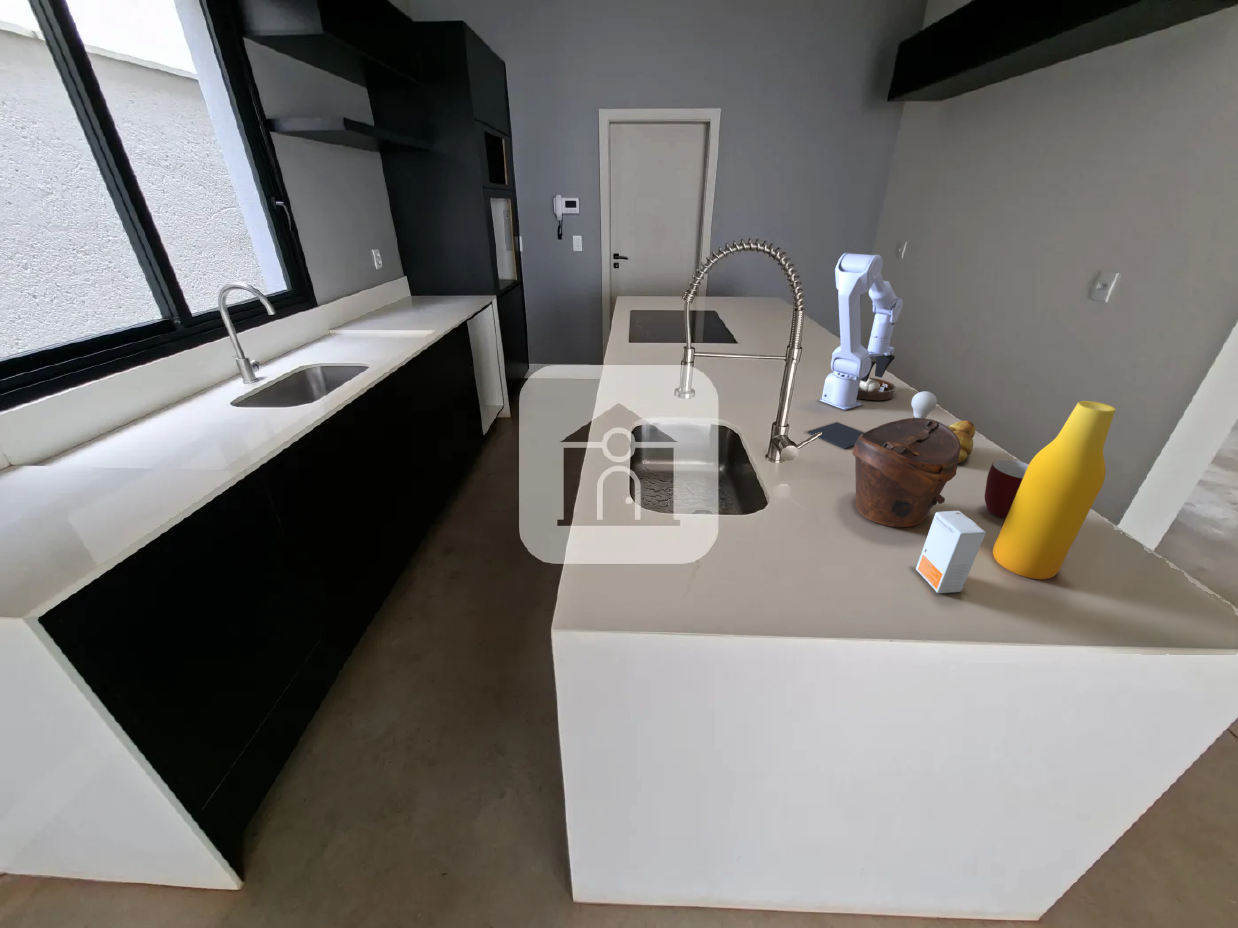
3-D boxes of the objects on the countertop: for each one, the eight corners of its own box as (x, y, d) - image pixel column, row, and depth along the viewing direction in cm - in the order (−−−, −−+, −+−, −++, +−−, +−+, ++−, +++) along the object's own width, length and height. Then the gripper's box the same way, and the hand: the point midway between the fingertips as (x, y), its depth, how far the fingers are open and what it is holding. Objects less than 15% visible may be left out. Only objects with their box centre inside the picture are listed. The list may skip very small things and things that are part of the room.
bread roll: (970, 470, 115) (982, 439, 111) (923, 461, 119) (932, 431, 115) (967, 448, 125) (977, 419, 121) (923, 441, 129) (931, 412, 125)
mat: (807, 432, 134) (807, 431, 134) (836, 423, 140) (837, 422, 140) (845, 449, 125) (845, 447, 125) (875, 438, 131) (875, 437, 130)
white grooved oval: (854, 390, 162) (857, 377, 160) (862, 387, 164) (865, 375, 162) (872, 396, 157) (875, 383, 155) (881, 393, 159) (884, 381, 157)
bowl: (832, 390, 163) (833, 382, 162) (861, 382, 170) (863, 374, 169) (873, 405, 152) (875, 395, 150) (903, 395, 159) (906, 386, 157)
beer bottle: (1040, 550, 89) (1113, 397, 75) (1068, 584, 81) (1157, 420, 67) (982, 543, 91) (1043, 393, 77) (1004, 576, 83) (1077, 415, 69)
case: (840, 529, 95) (860, 445, 87) (840, 480, 111) (857, 406, 103) (946, 549, 89) (979, 461, 81) (930, 495, 105) (956, 417, 97)
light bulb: (923, 422, 140) (933, 388, 135) (933, 430, 135) (943, 396, 130) (901, 421, 140) (910, 388, 136) (910, 430, 135) (920, 395, 130)
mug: (1039, 513, 99) (1059, 470, 94) (1040, 533, 93) (1061, 487, 88) (976, 497, 104) (993, 455, 100) (973, 515, 99) (991, 471, 94)
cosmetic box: (914, 569, 84) (934, 511, 79) (937, 568, 85) (959, 509, 79) (937, 594, 79) (960, 533, 73) (962, 592, 79) (987, 531, 74)
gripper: (877, 342, 146) (867, 386, 153) (907, 335, 153) (896, 378, 159) (856, 337, 152) (847, 380, 158) (886, 331, 158) (876, 372, 164)
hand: (870, 378), depth 159 cm, fingers open, 7 cm apart
